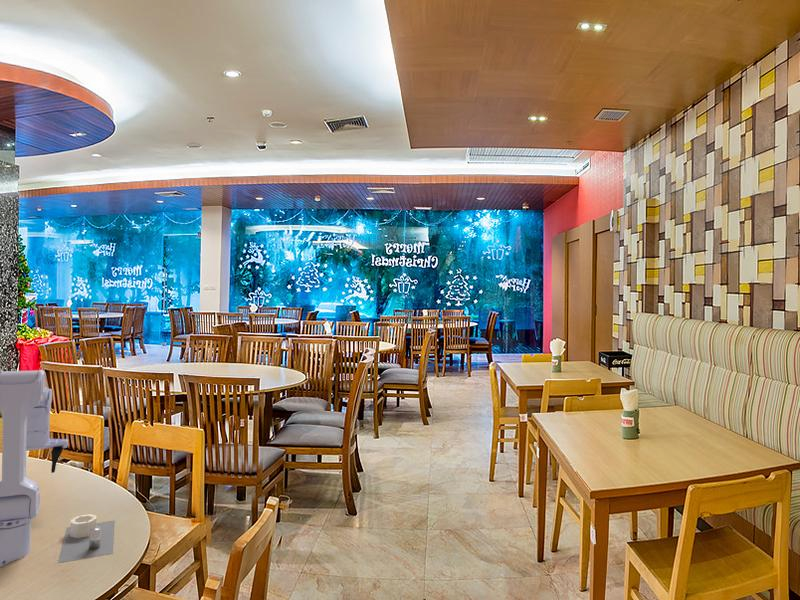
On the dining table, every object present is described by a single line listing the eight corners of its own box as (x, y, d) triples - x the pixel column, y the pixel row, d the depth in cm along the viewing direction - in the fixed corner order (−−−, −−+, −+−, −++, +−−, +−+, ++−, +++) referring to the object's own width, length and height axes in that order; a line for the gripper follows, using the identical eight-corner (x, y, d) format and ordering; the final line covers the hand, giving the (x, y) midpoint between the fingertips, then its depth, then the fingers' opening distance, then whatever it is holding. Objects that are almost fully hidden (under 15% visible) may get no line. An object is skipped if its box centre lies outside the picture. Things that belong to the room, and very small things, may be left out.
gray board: (112, 558, 124) (112, 553, 124) (57, 568, 119) (57, 563, 119) (114, 524, 142) (114, 520, 142) (66, 532, 136) (66, 527, 136)
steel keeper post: (94, 550, 125) (95, 531, 125) (86, 549, 126) (86, 530, 125) (102, 545, 127) (103, 527, 127) (94, 544, 128) (94, 526, 128)
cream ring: (95, 535, 133) (95, 521, 133) (69, 539, 130) (69, 525, 130) (96, 526, 138) (96, 513, 138) (71, 530, 135) (71, 516, 135)
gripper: (69, 420, 155) (68, 463, 157) (9, 424, 148) (9, 469, 150) (66, 430, 149) (65, 474, 151) (3, 434, 142) (4, 481, 144)
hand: (37, 472), depth 150 cm, fingers open, 7 cm apart
